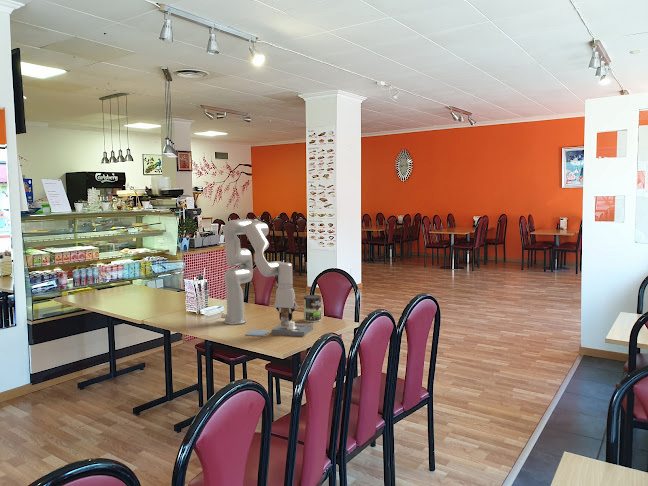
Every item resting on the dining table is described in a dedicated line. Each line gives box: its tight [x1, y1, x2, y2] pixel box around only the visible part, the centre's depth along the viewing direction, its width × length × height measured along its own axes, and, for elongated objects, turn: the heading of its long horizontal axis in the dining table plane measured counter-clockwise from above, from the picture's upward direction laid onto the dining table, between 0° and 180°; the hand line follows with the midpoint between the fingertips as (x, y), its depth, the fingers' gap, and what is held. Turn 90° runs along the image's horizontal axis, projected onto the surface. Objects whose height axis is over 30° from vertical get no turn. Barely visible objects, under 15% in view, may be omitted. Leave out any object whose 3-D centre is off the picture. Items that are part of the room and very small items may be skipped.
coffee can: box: [303, 294, 322, 323], centre depth 299 cm, size 10×10×14 cm
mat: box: [244, 329, 271, 337], centre depth 272 cm, size 10×10×1 cm
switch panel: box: [271, 322, 314, 337], centre depth 275 cm, size 18×16×3 cm
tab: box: [287, 320, 297, 330], centre depth 270 cm, size 4×4×4 cm
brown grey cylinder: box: [280, 308, 290, 327], centre depth 271 cm, size 4×4×10 cm
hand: (285, 319), depth 271 cm, fingers closed on brown grey cylinder, 4 cm apart
